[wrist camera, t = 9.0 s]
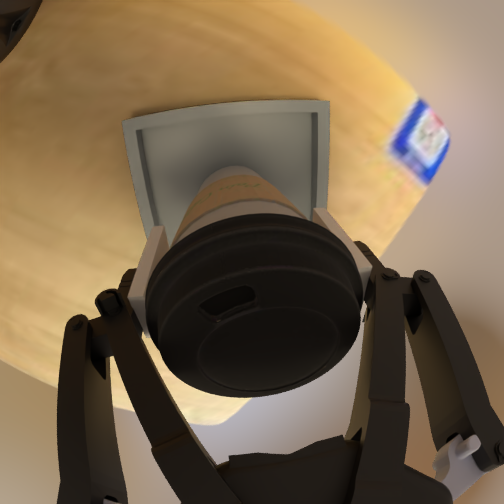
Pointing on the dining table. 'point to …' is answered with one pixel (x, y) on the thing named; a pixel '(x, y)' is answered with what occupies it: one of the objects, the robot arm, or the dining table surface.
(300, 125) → the tray
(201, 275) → the coffee cup
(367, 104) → the dining table surface
